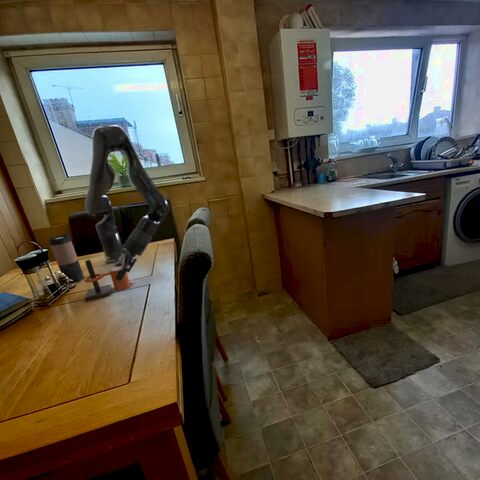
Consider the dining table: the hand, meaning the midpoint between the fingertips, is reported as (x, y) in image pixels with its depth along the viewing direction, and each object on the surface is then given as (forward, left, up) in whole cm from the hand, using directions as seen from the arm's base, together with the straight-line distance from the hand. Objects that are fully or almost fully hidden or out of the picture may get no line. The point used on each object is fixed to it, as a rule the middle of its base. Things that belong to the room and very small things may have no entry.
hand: (115, 276), depth 109 cm
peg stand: (+2, -7, -5) cm, 9 cm away
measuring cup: (+1, -3, -5) cm, 6 cm away
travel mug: (-24, -20, -5) cm, 32 cm away
